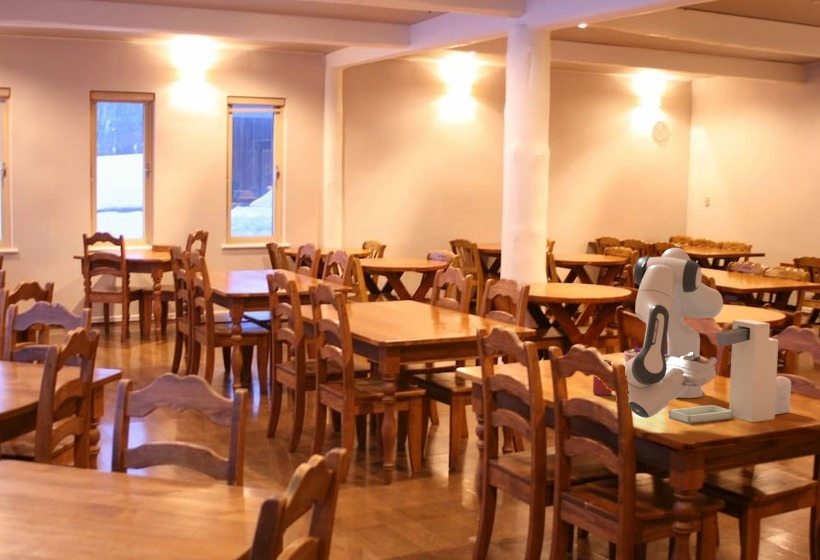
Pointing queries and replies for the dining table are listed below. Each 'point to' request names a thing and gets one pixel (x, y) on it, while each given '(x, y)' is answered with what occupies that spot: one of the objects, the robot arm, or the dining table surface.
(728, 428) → the dining table surface
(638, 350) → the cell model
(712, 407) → the tray
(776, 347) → the white dispenser tower
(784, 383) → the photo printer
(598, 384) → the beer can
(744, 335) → the drive caddy
